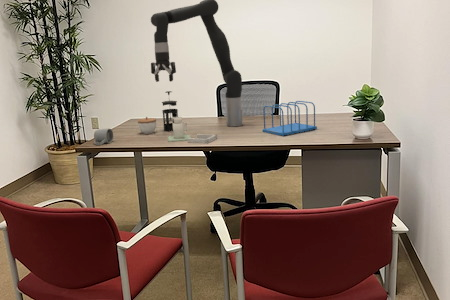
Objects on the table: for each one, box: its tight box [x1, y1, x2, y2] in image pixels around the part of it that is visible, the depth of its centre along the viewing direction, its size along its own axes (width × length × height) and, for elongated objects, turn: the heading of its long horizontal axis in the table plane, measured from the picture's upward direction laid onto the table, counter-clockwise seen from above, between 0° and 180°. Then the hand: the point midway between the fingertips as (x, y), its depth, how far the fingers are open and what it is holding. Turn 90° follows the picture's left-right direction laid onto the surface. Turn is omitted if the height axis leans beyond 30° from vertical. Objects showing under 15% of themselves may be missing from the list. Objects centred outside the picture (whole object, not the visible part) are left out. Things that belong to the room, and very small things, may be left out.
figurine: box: [171, 116, 188, 139], centre depth 241 cm, size 8×6×11 cm
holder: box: [187, 133, 218, 144], centre depth 235 cm, size 11×11×2 cm
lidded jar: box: [137, 116, 157, 135], centre depth 262 cm, size 11×11×9 cm
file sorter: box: [262, 100, 318, 137], centre depth 248 cm, size 25×17×15 cm
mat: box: [167, 134, 192, 143], centre depth 243 cm, size 12×12×1 cm
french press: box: [161, 90, 179, 132], centre depth 267 cm, size 12×9×23 cm
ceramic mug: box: [93, 128, 114, 146], centre depth 240 cm, size 11×8×8 cm
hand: (164, 81), depth 247 cm, fingers open, 8 cm apart
